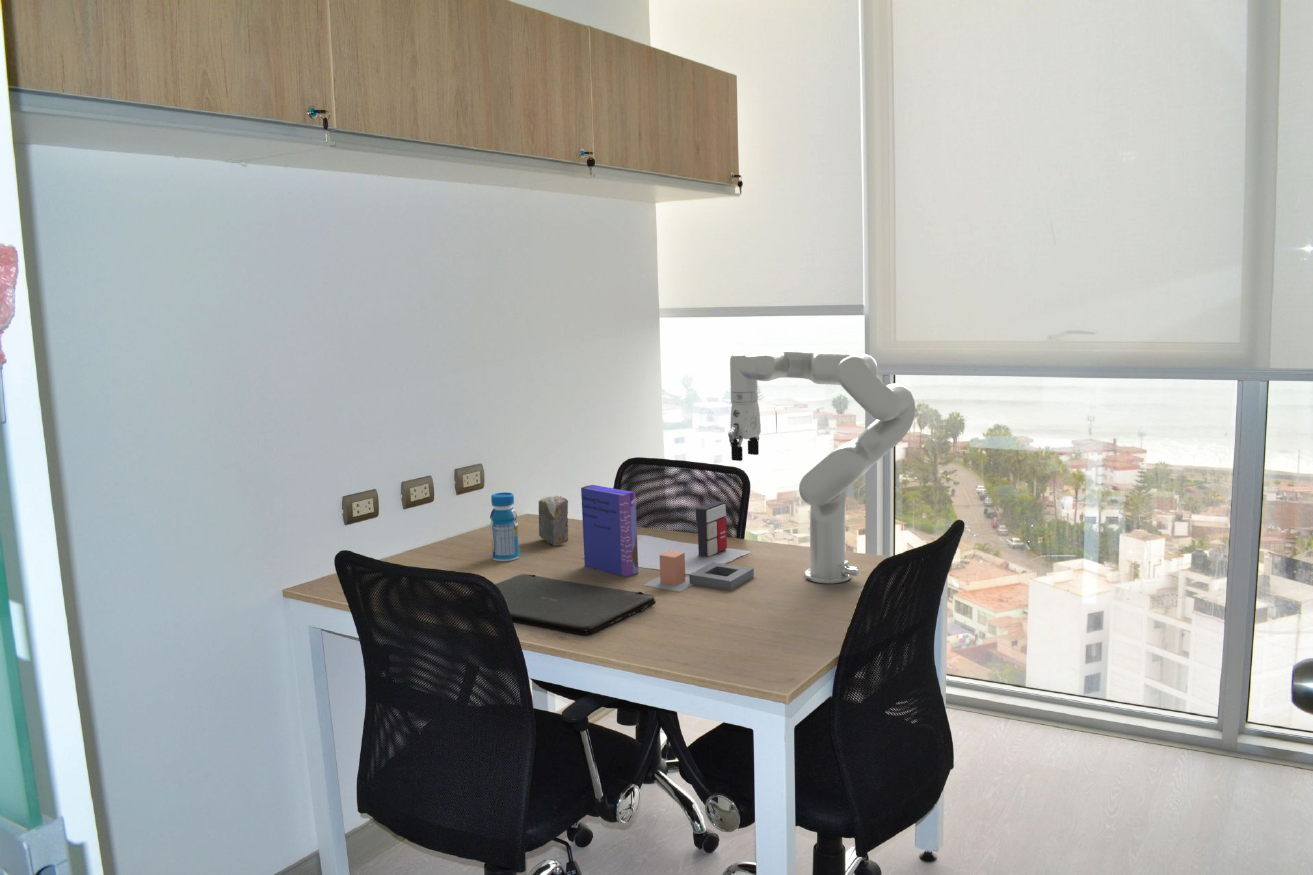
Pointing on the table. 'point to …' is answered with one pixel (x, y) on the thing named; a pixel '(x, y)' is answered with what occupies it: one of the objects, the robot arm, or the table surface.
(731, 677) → the table surface
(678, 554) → the block
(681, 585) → the mat
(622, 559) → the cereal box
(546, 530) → the geological specimen
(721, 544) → the grey and red box
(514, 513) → the beverage bottle
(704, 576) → the pocket tray
